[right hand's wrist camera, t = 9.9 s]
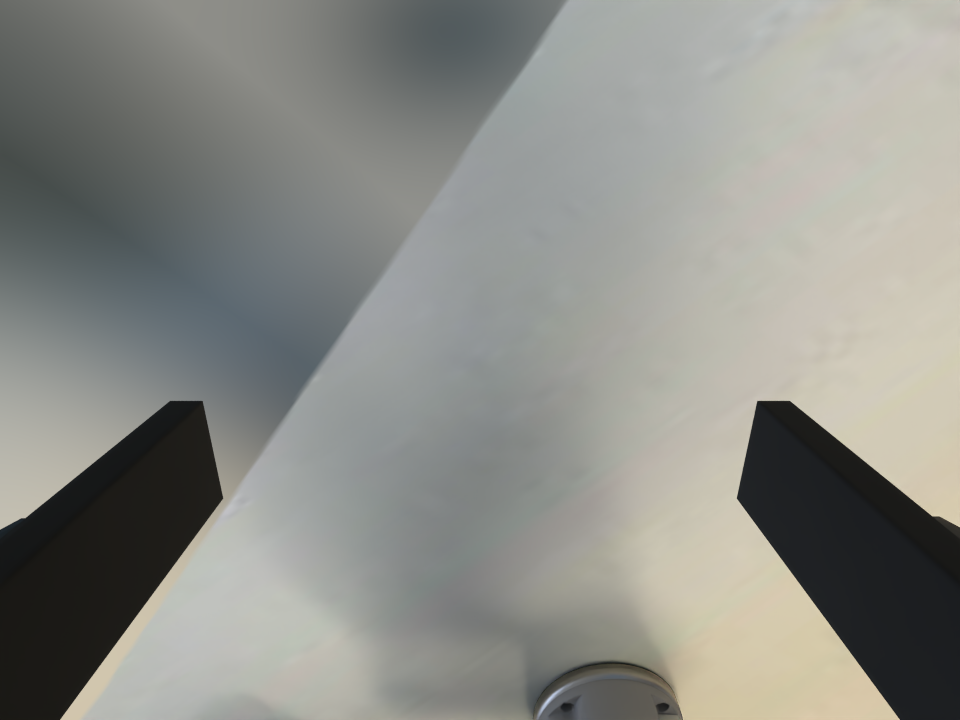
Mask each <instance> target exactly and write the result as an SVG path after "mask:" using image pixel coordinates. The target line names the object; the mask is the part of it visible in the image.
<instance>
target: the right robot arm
mask: <svg viewBox="0 0 960 720" xmlns="http://www.w3.org/2000/svg"><path fill="white" fill-rule="evenodd" d="M222 499H223V496H222V491H221V486H220V481H219V477H218V472H217V467H216V462H215V458H214V453H213V448H212V443H211V439H210V434H209V429H208V424H207V420H206V415H205V410H204V406H203V401H170V402H168V403H167V404H166V405H165V406H163V407H162V408H161V409H160V410H159V411H157V412H156V413H155V414H154V415H152V416H151V417H150V418H149V419H147V420H146V421H145V422H144V423H142V424H141V425H140V426H139V427H138V428H136V429H135V430H134V431H133V432H131V433H130V434H129V435H128V436H126V437H125V438H124V439H123V440H121V441H120V442H119V443H118V444H117V445H115V446H114V447H113V448H112V449H110V450H109V451H108V452H107V453H105V454H104V455H103V456H102V457H101V458H99V459H98V460H97V461H96V462H94V463H93V464H92V465H91V466H89V467H88V468H87V469H86V470H84V471H83V472H82V473H81V474H80V475H78V476H77V477H76V478H75V479H73V480H72V481H71V482H70V483H68V484H67V485H66V486H65V487H64V488H62V489H61V490H60V491H59V492H57V493H56V494H55V495H54V496H52V497H51V498H50V499H49V500H48V501H46V502H45V503H44V504H42V505H41V506H40V507H39V508H38V509H36V510H35V511H34V512H33V513H31V514H30V515H29V516H28V517H26V518H21V519H19V520H18V521H16V522H14V523H12V524H10V525H8V526H6V527H5V528H3V529H1V530H0V720H60V719H61V718H62V716H63V715H64V714H65V712H66V711H67V709H68V708H69V707H70V705H71V704H72V703H73V701H74V700H75V699H76V697H77V696H78V694H79V693H80V692H81V690H82V689H83V688H84V686H85V685H86V684H87V682H88V681H89V680H90V678H91V677H92V676H93V674H94V673H95V671H96V670H97V669H98V667H99V666H100V665H101V663H102V662H103V661H104V659H105V658H106V657H107V655H108V654H109V653H110V651H111V650H112V648H113V647H114V646H115V644H116V643H117V642H118V640H119V639H120V638H121V636H122V635H123V634H124V632H125V631H126V629H127V628H128V627H129V625H130V624H131V623H132V621H133V620H134V619H135V617H136V616H137V615H138V613H139V612H140V610H141V609H142V608H143V606H144V605H145V604H146V602H147V601H148V600H149V598H150V597H151V596H152V594H153V593H154V591H155V590H156V589H157V587H158V586H159V585H160V583H161V582H162V581H163V579H164V578H165V577H166V575H167V574H168V572H169V571H170V570H171V568H172V567H173V566H174V564H175V563H176V562H177V560H178V559H179V558H180V556H181V555H182V553H183V552H184V551H185V549H186V548H187V547H188V545H189V544H190V543H191V541H192V540H193V539H194V537H195V536H196V534H197V533H198V532H199V530H200V529H201V528H202V526H203V525H204V524H205V522H206V521H207V519H208V518H209V517H210V516H211V514H212V513H213V511H214V510H215V509H216V507H217V506H218V505H219V503H220V502H221V501H222ZM737 499H738V501H739V502H740V503H741V505H742V506H743V507H744V509H745V510H746V511H747V513H748V514H749V516H750V517H751V518H752V520H753V521H754V522H755V524H756V525H757V526H758V528H759V529H760V530H761V532H762V533H763V535H764V536H765V537H766V539H767V540H768V541H769V543H770V544H771V545H772V547H773V548H774V549H775V551H776V552H777V554H778V555H779V556H780V558H781V559H782V560H783V562H784V563H785V564H786V566H787V567H788V568H789V570H790V571H791V572H792V574H793V575H794V577H795V578H796V579H797V581H798V582H799V583H800V585H801V586H802V587H803V589H804V590H805V591H806V593H807V594H808V596H809V597H810V598H811V600H812V601H813V602H814V604H815V605H816V606H817V608H818V609H819V610H820V612H821V613H822V615H823V616H824V617H825V619H826V620H827V621H828V623H829V624H830V625H831V627H832V628H833V629H834V631H835V632H836V634H837V635H838V636H839V638H840V639H841V640H842V642H843V643H844V644H845V646H846V647H847V648H848V650H849V651H850V653H851V654H852V655H853V657H854V658H855V659H856V661H857V662H858V663H859V665H860V666H861V667H862V669H863V670H864V672H865V673H866V674H867V676H868V677H869V678H870V680H871V681H872V682H873V684H874V685H875V686H876V688H877V689H878V690H879V692H880V693H881V695H882V696H883V697H884V699H885V700H886V701H887V703H888V704H889V705H890V707H891V708H892V709H893V711H894V712H895V714H896V715H897V716H898V718H899V719H900V720H960V527H958V526H956V525H954V524H952V523H950V522H949V521H947V520H945V519H943V518H941V517H932V516H931V515H930V514H929V513H927V512H926V511H925V510H924V509H922V508H921V507H920V506H919V505H918V504H916V503H915V502H914V501H913V500H911V499H910V498H909V497H908V496H906V495H905V494H904V493H903V492H901V491H900V490H899V489H898V488H897V487H895V486H894V485H893V484H892V483H890V482H889V481H888V480H887V479H885V478H884V477H883V476H882V475H880V474H879V473H878V472H877V471H876V470H874V469H873V468H872V467H871V466H869V465H868V464H867V463H866V462H864V461H863V460H862V459H861V458H860V457H858V456H857V455H856V454H855V453H853V452H852V451H851V450H850V449H848V448H847V447H846V446H845V445H843V444H842V443H841V442H840V441H839V440H837V439H836V438H835V437H834V436H832V435H831V434H830V433H829V432H827V431H826V430H825V429H824V428H822V427H821V426H820V425H819V424H818V423H816V422H815V421H814V420H813V419H811V418H810V417H809V416H808V415H806V414H805V413H804V412H803V411H801V410H800V409H799V408H798V407H797V406H795V405H794V404H793V403H792V402H790V401H757V405H756V410H755V415H754V420H753V424H752V429H751V434H750V439H749V443H748V448H747V453H746V458H745V462H744V467H743V472H742V476H741V481H740V486H739V491H738V495H737ZM534 720H683V718H682V714H681V711H680V708H679V705H678V703H677V700H676V697H675V695H674V693H673V691H672V689H671V688H670V687H669V685H668V684H667V683H666V682H665V681H664V680H663V679H661V678H660V677H659V676H657V675H655V674H654V673H652V672H650V671H647V670H645V669H642V668H639V667H636V666H631V665H625V664H598V665H592V666H587V667H583V668H580V669H577V670H574V671H572V672H570V673H567V674H566V675H564V676H562V677H560V678H559V679H557V680H556V681H554V682H553V683H552V684H551V685H549V686H548V687H547V688H546V689H545V691H544V692H543V693H542V694H541V696H540V697H539V699H538V701H537V703H536V706H535V710H534Z"/></svg>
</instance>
